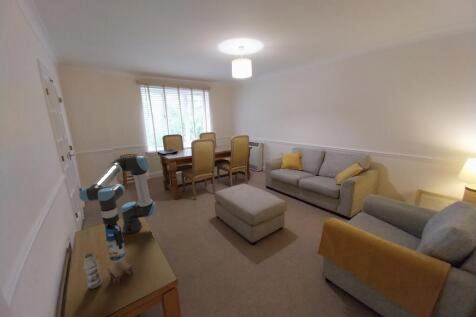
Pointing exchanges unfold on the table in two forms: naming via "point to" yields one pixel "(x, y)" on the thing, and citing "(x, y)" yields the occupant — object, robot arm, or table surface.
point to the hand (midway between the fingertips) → (117, 250)
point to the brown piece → (120, 269)
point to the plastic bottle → (92, 271)
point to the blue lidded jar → (113, 245)
